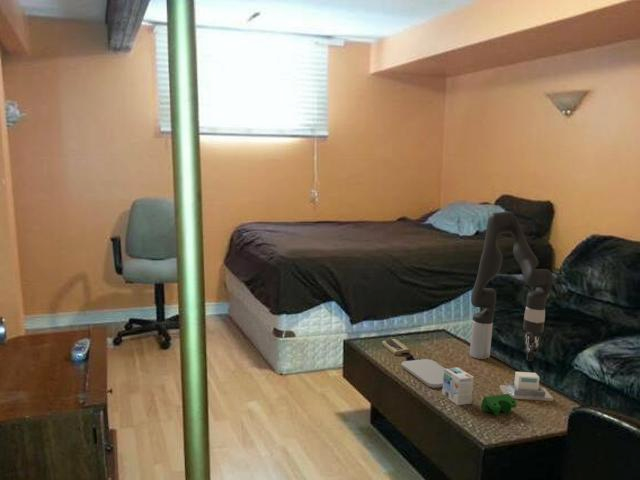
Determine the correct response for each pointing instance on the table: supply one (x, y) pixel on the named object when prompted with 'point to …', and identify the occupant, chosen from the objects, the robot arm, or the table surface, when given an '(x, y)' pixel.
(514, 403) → the clamp
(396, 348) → the computer
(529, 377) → the block
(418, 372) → the tablet
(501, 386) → the grey flat block
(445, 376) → the light bulb box
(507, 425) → the table surface
